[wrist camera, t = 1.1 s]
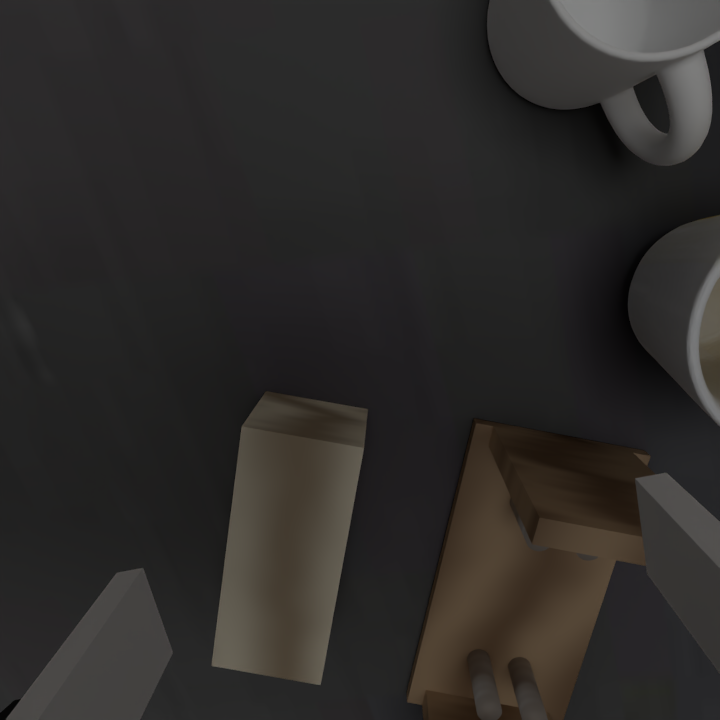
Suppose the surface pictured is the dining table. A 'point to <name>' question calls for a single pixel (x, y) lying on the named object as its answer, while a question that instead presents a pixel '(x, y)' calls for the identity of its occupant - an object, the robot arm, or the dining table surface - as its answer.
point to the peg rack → (524, 572)
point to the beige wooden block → (288, 535)
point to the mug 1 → (613, 63)
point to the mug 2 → (682, 309)
